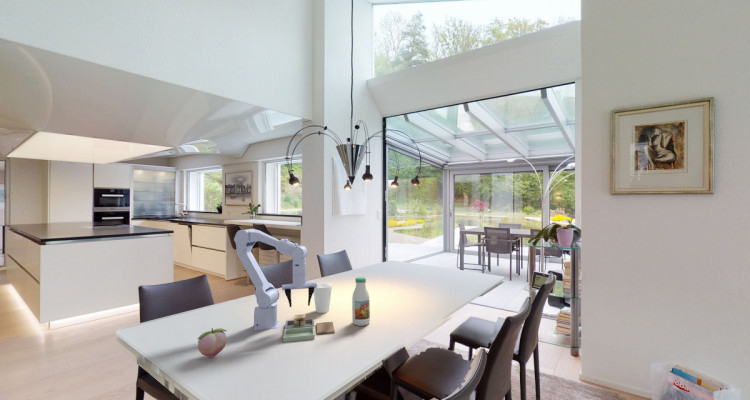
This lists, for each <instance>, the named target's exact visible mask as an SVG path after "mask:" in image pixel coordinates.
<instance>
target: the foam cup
mask: <svg viewBox="0 0 750 400" xmlns="http://www.w3.org/2000/svg"><path fill="white" fill-rule="evenodd" d="M332 285H333V284H332V283H328V282H320V283H319V282H318V283H317V288H314V292H313V300H314V305H315V306H314V307H315V313H319V314H326V313H328V312H329V311H330V305H331V298H332V297H331V296H332V290H333V289H332V288H333V287H332Z"/></svg>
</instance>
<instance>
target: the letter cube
mask: <svg viewBox="0 0 750 400" xmlns="http://www.w3.org/2000/svg"><path fill="white" fill-rule="evenodd" d="M305 319H306V314H305V313H303V314H294V319H293V320H294V327H297V326H305Z"/></svg>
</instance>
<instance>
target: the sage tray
mask: <svg viewBox="0 0 750 400" xmlns="http://www.w3.org/2000/svg"><path fill="white" fill-rule="evenodd" d="M315 331H316V330H315V326H314V327H303V328H292V329H285V328H284V331H283V337H282V342H283V343H288V342H289V343H290V342H299V341H309V340H315V338H316V336H315V335H316V334H315V333H316V332H315Z"/></svg>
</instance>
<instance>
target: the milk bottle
mask: <svg viewBox="0 0 750 400" xmlns="http://www.w3.org/2000/svg"><path fill="white" fill-rule="evenodd" d="M366 281H367V279H366V277H365V276H364V277H363V276H359V277H358V276H357V277H356V278H355V288H354V290H353V293H352V299H351V303H352V304H351V305H352V306H351V308H352V310H351V311H352V312H351V316H352V318H351V319H352V321H351V322H352V324H353V325H355V326H357V327H359V326H360V327H362V326H363V327H364V326H368V325H369V324H370V321H371V319H370V318H371V315H370V314H371V312H370V306H371V305H370V294H369V291H368V289H367V286H366Z"/></svg>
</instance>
